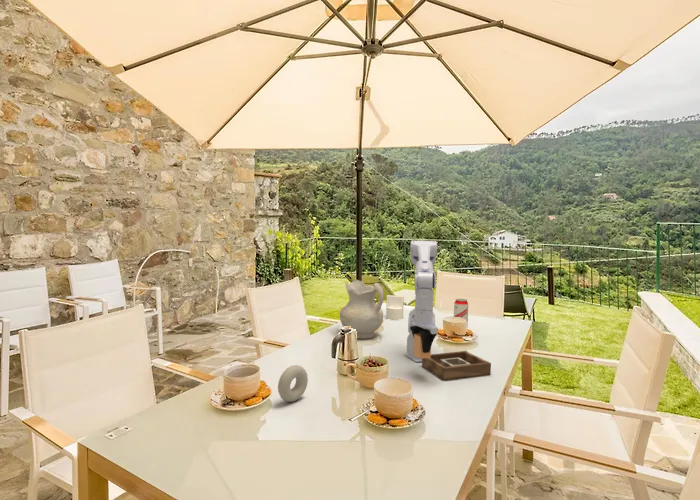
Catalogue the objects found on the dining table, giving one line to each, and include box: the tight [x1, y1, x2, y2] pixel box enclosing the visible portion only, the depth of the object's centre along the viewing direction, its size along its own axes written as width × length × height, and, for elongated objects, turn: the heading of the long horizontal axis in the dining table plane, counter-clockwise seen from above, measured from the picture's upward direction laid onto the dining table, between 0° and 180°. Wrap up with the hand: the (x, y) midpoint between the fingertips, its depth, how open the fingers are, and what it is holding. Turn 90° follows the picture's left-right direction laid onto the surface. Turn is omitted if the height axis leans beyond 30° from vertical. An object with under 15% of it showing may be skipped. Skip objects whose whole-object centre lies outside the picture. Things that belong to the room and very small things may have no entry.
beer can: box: [453, 298, 469, 327], centre depth 189 cm, size 6×6×16 cm
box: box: [421, 350, 492, 382], centre depth 142 cm, size 14×18×4 cm
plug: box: [414, 334, 432, 359], centre depth 135 cm, size 4×4×7 cm
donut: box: [277, 364, 309, 403], centre depth 115 cm, size 10×4×10 cm, turn 140°
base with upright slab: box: [385, 294, 405, 321], centre depth 219 cm, size 9×9×12 cm
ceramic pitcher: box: [339, 279, 384, 340], centre depth 183 cm, size 22×20×25 cm
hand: (422, 350), depth 135 cm, fingers closed on plug, 4 cm apart
